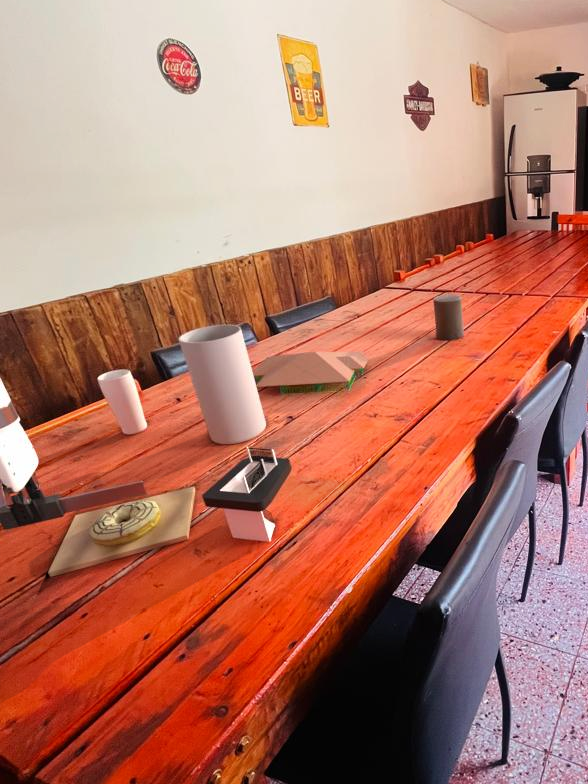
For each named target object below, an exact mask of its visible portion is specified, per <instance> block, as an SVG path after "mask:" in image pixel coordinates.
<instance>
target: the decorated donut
mask: <svg viewBox="0 0 588 784" xmlns="http://www.w3.org/2000/svg"><path fill="white" fill-rule="evenodd" d="M135 501H136V500H135ZM129 502H130V503H128V502H125V503H126V504H124V503H121V504H122V505H120V506H118V507H116V508H113V509H111V510H109V511H107V512H105V513H104V514H103V515H101V516H99V517H98V518H96V519H95V520H94V522H93V523H92V526H91V529H90V532H89V534H90V536H91V537H92V539H93V540H94V541H95V542H96V543H98V544H99V545H101V546H119V545H123V544H127V543H130V542H132V541H135V540H136V539H139V538H141V537H142V536H144V535H146V534H147V533H148V532H149V531H151V530H152V529H153V528H155V527H156V526H157V524H158V523H159V520H160V515H161V510H160V509H159V507H158V505H157V504H156V502H154V501H136V502H132V501H129Z"/></svg>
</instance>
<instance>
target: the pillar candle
mask: <svg viewBox="0 0 588 784" xmlns="http://www.w3.org/2000/svg"><path fill="white" fill-rule="evenodd" d="M432 300H433V309H434V323H435V334H436V338H437V339H438V340H441V341H456V340H459V339H462V338H463V337H464V336H465V330H464V316H463V302H462V296H461V295H460V294H447V293H446V294H441V295H437V296H434V297H433V299H432Z"/></svg>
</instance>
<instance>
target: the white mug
mask: <svg viewBox="0 0 588 784" xmlns="http://www.w3.org/2000/svg"><path fill="white" fill-rule="evenodd" d="M96 379H97V382H98V385H99V388H100V390H101V393H102V395H103V397H104V399H105V401H106V403H107V405H108V407H109V408H110V410H111V412H112V414H113V416H114V417H115V419H116V421H117V423H118V425H119V427H120V430H121V432H122V433H123V434H124V435H127V436H128V435H136V434H139V433H141V432H143V431H145V430H146V429H147V428H148V423H147V420H146V417H145V414H144V410H143V405H142V403H141V398H140V394H139V391H138V388H137V385H136V382H135V378H134V377H133V375H132V373H131V370H129V369H115V370H111V371H108V372H105V373H102V374H100V375H99V376H98V377H97V378H96Z"/></svg>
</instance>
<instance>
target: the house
mask: <svg viewBox="0 0 588 784" xmlns="http://www.w3.org/2000/svg"><path fill="white" fill-rule="evenodd" d="M364 352H365V351H309V352H300V353H292V354H291V353H289V354H277V355H272V356H267V357H266V358H265V359H264V360H263V361H262V362H261V363H260V364H259V365H258V366H257V367H256V369H254V370H253V371H252V372H253V376H254V380H255V383H256V387H257V388H261V387H262V388H264V387H279V391H280V394H281V396H282V395H283V396H284V395H286V396H287V395H299V394H300V395H301V394H304V392H306V391H307V392H309V391H310V392H312V393H314V394H319V393H321V392H322V393H334V392H335V393H336V392H339V390H337V391H336V390H334V391H333V390H331V391H330V390H328V391H327V389H322V388H327V387H328V388H329V387H331V389H333V387H334V389H336V388H337V389H339V388H338V387H340V389H342V388H343V390H345V389H347V392H349V391H350V389H351V387H352V386H353V383H354V381H355V379H356V377H362V376H363V374H364V372H365V369H366V365H367V363H368V361H369V358H370V355H364V354H365V353H364ZM356 372H360V375H359V374H357V375H356ZM332 383H333V384H335V383H336V384H337V385H330V386H329V385H326V384H332ZM338 383H339V385H338ZM341 383H342V385H341ZM344 383H346V385H344ZM296 385H297V387H299V386H298V385H300V387H301V386H302V385H303V388H293V386H294V387H296ZM304 385H306V386H304ZM310 385H311V386H310ZM290 386H291V387H290ZM346 386H347V387H346ZM341 387H342V388H341ZM344 387H345V388H344ZM311 388H313V389H312V391H311ZM288 389H289V390H288ZM293 389H294V390H295V391H297V390H298V391H300V392H298V393H297V392H295V393H294V392H292V393H291V392H289V393H288V391H291V390H292V391H294V390H293ZM299 389H300V390H299ZM305 389H306V390H305ZM308 389H309V390H308ZM321 389H322V390H321ZM303 390H304V392H303ZM285 391H286V393H285Z"/></svg>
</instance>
